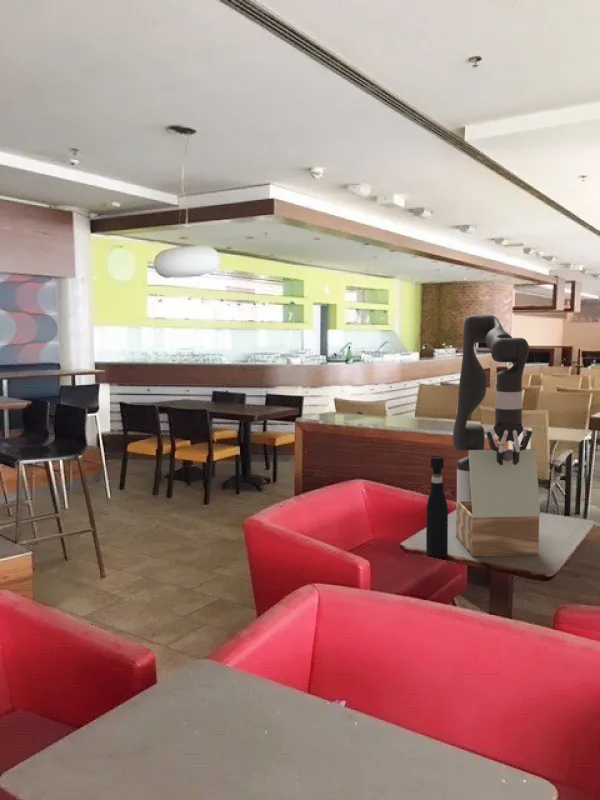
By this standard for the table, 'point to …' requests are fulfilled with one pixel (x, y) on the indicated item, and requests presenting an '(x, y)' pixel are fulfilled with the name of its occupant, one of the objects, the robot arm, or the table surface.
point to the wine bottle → (437, 513)
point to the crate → (496, 533)
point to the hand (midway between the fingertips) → (507, 464)
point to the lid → (504, 484)
